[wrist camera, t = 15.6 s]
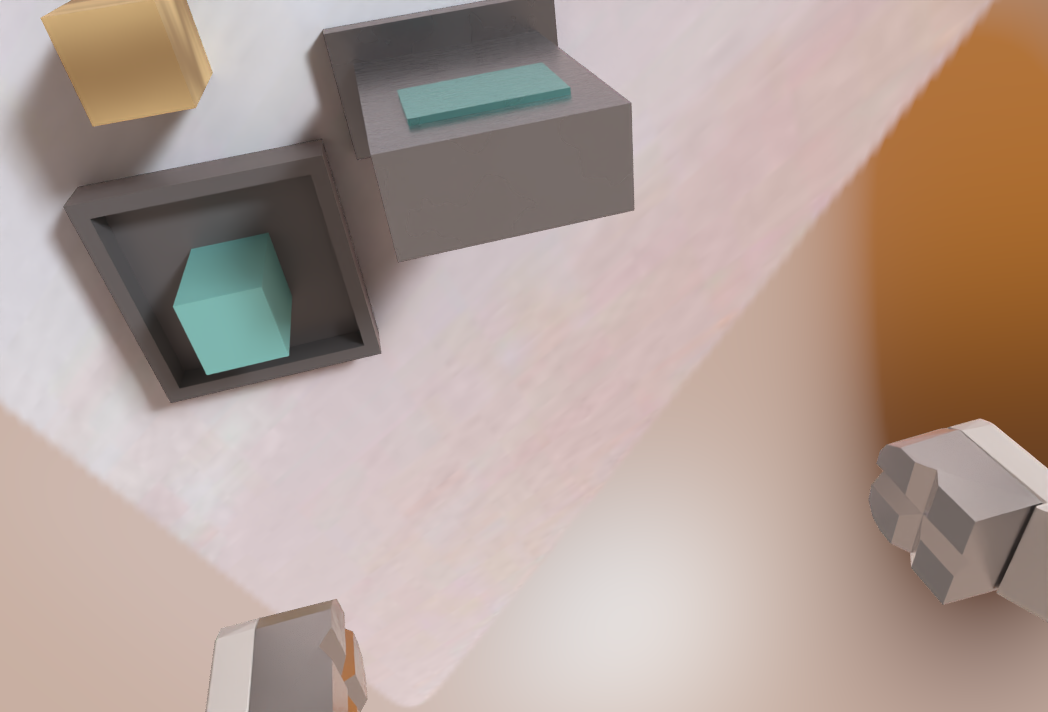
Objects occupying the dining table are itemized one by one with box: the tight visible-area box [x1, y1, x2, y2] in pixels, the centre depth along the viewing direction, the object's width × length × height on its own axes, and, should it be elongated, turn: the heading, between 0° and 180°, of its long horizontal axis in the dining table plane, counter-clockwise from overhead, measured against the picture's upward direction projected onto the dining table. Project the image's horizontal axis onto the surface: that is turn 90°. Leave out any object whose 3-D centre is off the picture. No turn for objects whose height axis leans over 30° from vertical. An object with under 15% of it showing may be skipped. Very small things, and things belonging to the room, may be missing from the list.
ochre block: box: [41, 0, 213, 127], centre depth 30 cm, size 4×4×6 cm
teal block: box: [173, 233, 292, 375], centre depth 36 cm, size 4×4×6 cm
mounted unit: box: [323, 0, 634, 262], centre depth 30 cm, size 6×11×14 cm, turn 97°
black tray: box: [64, 139, 381, 403], centre depth 38 cm, size 12×12×2 cm
